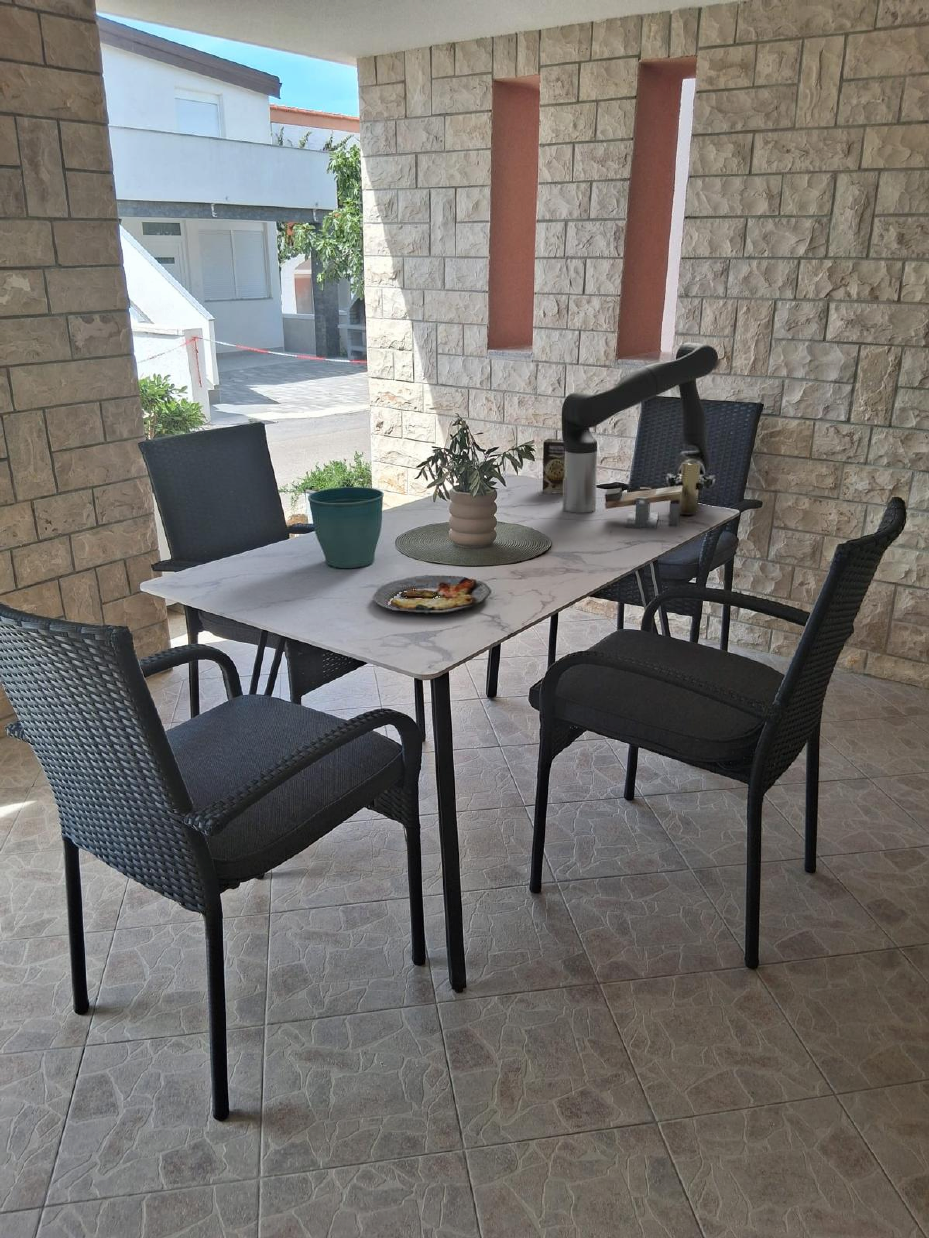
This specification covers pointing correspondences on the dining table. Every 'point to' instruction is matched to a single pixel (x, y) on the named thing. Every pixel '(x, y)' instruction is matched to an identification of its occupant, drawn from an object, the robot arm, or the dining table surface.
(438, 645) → the dining table surface
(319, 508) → the flower pot
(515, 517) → the dining table surface
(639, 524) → the beam stand
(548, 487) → the cookie box
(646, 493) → the beam
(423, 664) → the dining table surface
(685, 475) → the block
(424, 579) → the food plate
